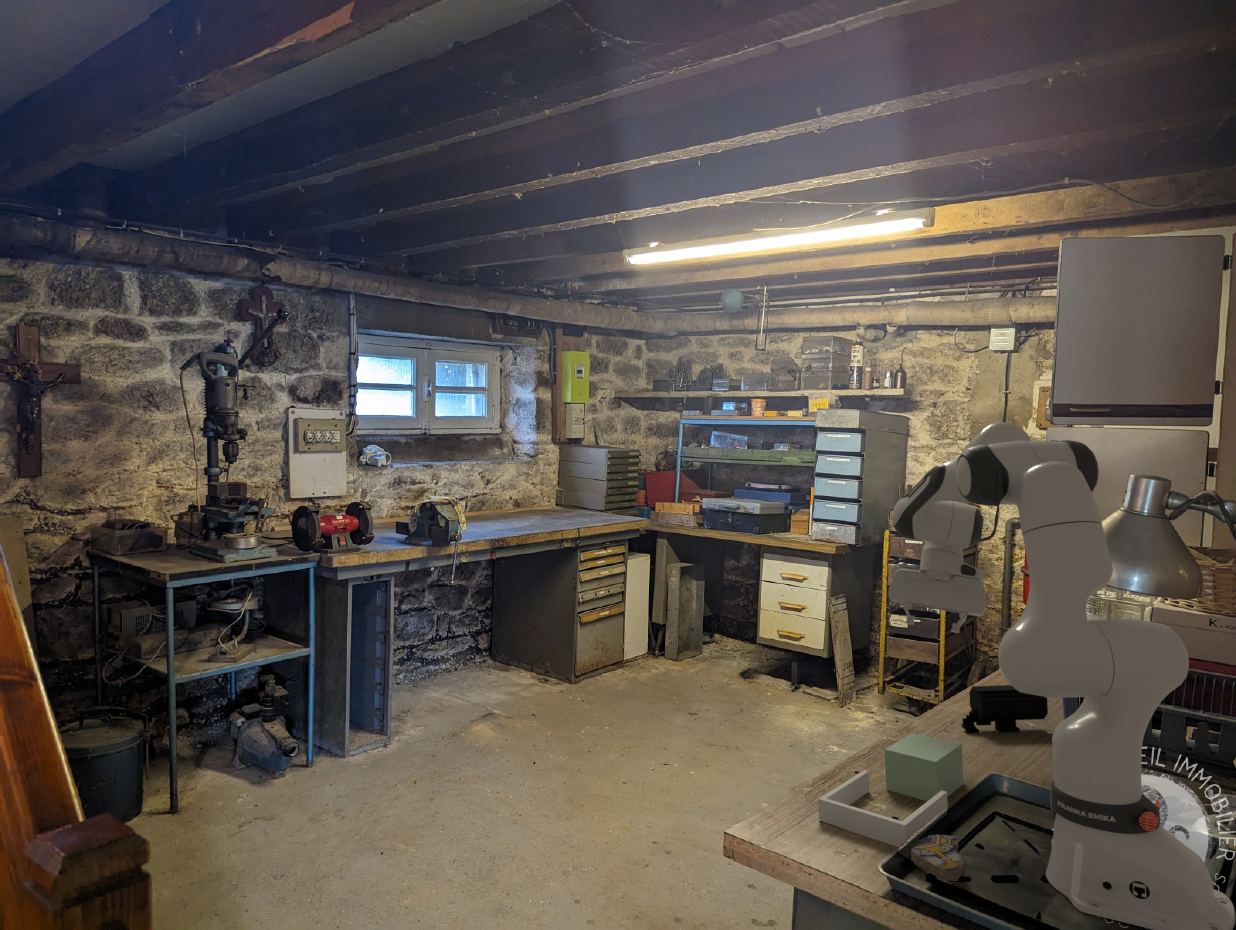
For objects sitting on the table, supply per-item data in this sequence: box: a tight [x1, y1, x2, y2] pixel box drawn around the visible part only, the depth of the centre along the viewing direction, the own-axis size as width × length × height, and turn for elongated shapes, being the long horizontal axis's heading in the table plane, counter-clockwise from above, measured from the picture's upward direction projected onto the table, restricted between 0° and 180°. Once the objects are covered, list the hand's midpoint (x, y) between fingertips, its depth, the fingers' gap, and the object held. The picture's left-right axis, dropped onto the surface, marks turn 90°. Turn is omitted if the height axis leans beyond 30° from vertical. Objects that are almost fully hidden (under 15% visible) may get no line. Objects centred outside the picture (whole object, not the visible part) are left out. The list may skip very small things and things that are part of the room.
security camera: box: [961, 684, 1049, 734], centre depth 179 cm, size 7×18×10 cm, turn 88°
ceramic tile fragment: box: [897, 833, 966, 882], centre depth 120 cm, size 12×3×10 cm
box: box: [817, 769, 949, 848], centre depth 138 cm, size 16×17×4 cm
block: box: [884, 732, 964, 802], centre depth 150 cm, size 10×12×8 cm
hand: (932, 628), depth 170 cm, fingers open, 8 cm apart
